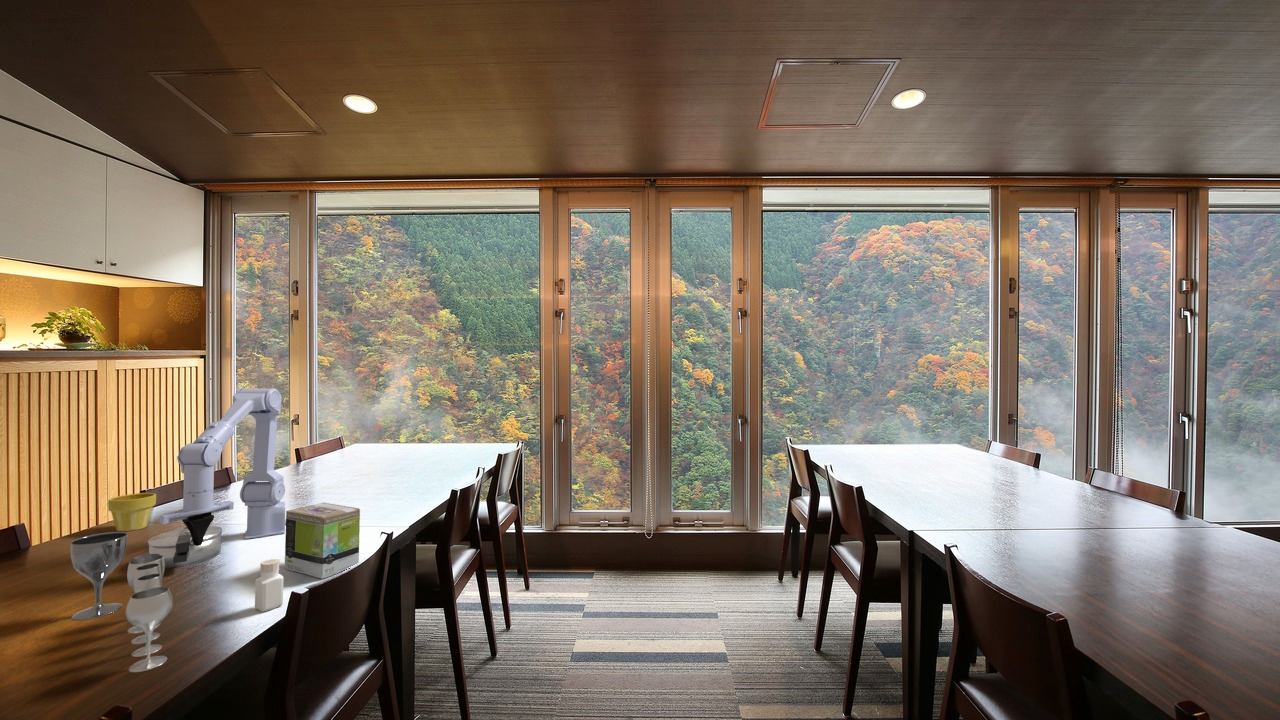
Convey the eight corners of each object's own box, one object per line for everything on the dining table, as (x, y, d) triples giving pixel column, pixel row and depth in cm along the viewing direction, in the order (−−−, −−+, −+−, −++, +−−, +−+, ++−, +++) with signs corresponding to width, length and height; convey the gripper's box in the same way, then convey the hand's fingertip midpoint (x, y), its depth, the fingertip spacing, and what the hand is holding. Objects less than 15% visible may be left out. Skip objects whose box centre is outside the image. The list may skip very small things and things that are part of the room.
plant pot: (128, 523, 159) (129, 492, 159) (164, 522, 160) (165, 492, 161) (97, 534, 149) (98, 501, 149) (135, 533, 150) (136, 500, 150)
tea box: (360, 565, 128) (361, 507, 128) (321, 580, 119) (322, 518, 119) (322, 555, 134) (324, 500, 134) (282, 569, 125) (284, 509, 125)
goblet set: (123, 618, 100) (124, 551, 101) (162, 608, 105) (164, 544, 105) (124, 679, 81) (126, 596, 81) (172, 664, 85) (174, 585, 85)
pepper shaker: (262, 613, 103) (263, 566, 103) (253, 608, 105) (254, 562, 105) (284, 605, 106) (285, 560, 106) (275, 601, 108) (276, 556, 108)
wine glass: (136, 603, 106) (138, 532, 107) (92, 622, 98) (94, 545, 99) (103, 601, 107) (105, 530, 107) (56, 619, 99) (58, 543, 99)
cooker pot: (153, 555, 133) (154, 536, 133) (222, 544, 141) (222, 526, 142) (139, 581, 117) (139, 559, 117) (217, 567, 126) (217, 547, 126)
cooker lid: (151, 535, 133) (152, 527, 133) (222, 525, 142) (222, 517, 142) (140, 558, 117) (141, 549, 117) (221, 545, 126) (221, 536, 126)
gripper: (223, 483, 134) (222, 534, 134) (153, 495, 121) (151, 551, 121) (238, 485, 132) (237, 537, 131) (168, 498, 118) (167, 556, 118)
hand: (197, 545), depth 126 cm, fingers closed
